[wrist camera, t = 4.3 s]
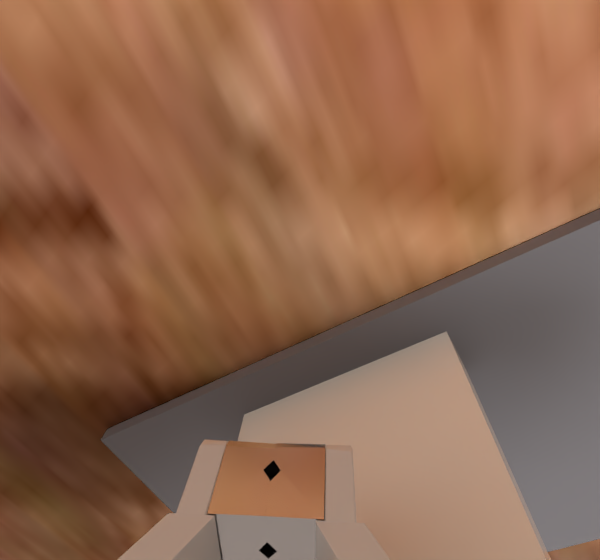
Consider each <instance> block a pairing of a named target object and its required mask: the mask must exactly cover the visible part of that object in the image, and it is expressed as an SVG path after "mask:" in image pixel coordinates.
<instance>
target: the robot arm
mask: <svg viewBox="0 0 600 560" xmlns="http://www.w3.org/2000/svg"><path fill="white" fill-rule="evenodd" d="M325 456H326V464H325ZM117 560H390V558H389V557H388V555H387V554H386V553H385V551H384V550H383V548H382V547H381V545H380V544H379V543H378V541H377V540H376V538H375V537H374V536H373V534H372V533H371V531H370V530H369V529H368V527H367V526H366V524H365V523H357V521H356V503H355V485H354V467H353V450H352V447H351V446H349V445H326V450H325V444H289V443H277V444H272V443H257V442H242V441H221V440H205V439H204V441H203V442H202V443H201V445H200V446H199V449H198V452H197V455H196V458H195V461H194V463H193V466H192V469H191V472H190V475H189V478H188V480H187V483H186V486H185V489H184V492H183V495H182V498H181V500H180V503H179V506H178V509H177V512H176V513H168V514H167V515H165V516H164V517H163V518H162V519H161V520H160V521H159V522H158V523H157V524H156V525H155V526H153V527H152V528H151V529H150V530H149V531H148V532H147V533H146V534H145V535H144V536H142V537H141V538H140V539H139V540H138V541H137V542H136V543H135V544H134V545H133V546H131V547H130V548H129V549H128V550H127V551H126V552H125V553H124V554H123V555H122V556H121V557H119V558H118V559H117Z"/></svg>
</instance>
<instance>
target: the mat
mask: <svg viewBox="0 0 600 560" xmlns="http://www.w3.org/2000/svg"><path fill="white" fill-rule="evenodd" d="M446 331H447V333H448V335H449V337H450V339H451V341H452V343H453V345H454V347H455V349H456V351H457V353H458V355H459V357H460V359H461V361H462V363H463V365H464V367H465V369H466V370H467V373H468V375H469V377H470V379H471V382H472V384H473V386H474V388H475V391H476V393H477V395H478V397H479V400H480V402H481V404H482V406H483V409H484V411H485V413H486V415H487V418H488V420H489V422H490V424H491V426H492V429H493V431H494V433H495V435H496V438H497V440H498V442H499V444H500V447H501V449H502V451H503V453H504V456H505V458H506V460H507V462H508V465H509V467H510V469H511V471H512V474H513V476H514V478H515V480H516V483H517V485H518V487H519V489H520V491H521V494H522V496H523V498H524V500H525V503H526V505H527V507H528V509H529V512H530V514H531V516H532V518H533V521H534V523H535V525H536V527H537V530H538V532H539V534H540V536H541V539H542V541H543V543H544V545H545V548H546V550H547V552H549V551H553V550H557V549H561V548H565V547H569V546H573V545H577V544H581V543H585V542H589V541H593V540H597V539H600V209H598V210H596V211H593V212H591V213H589V214H587V215H585V216H582V217H580V218H578V219H576V220H573V221H571V222H569V223H567V224H564V225H562V226H560V227H558V228H555V229H553V230H551V231H549V232H547V233H544V234H542V235H540V236H538V237H535V238H533V239H531V240H529V241H526V242H524V243H522V244H520V245H517V246H515V247H513V248H511V249H509V250H506V251H504V252H502V253H500V254H497V255H495V256H493V257H491V258H488V259H486V260H484V261H482V262H479V263H477V264H475V265H473V266H471V267H468V268H466V269H464V270H462V271H459V272H457V273H455V274H453V275H450V276H448V277H446V278H444V279H441V280H439V281H437V282H435V283H432V284H430V285H428V286H426V287H424V288H421V289H419V290H417V291H415V292H412V293H410V294H408V295H406V296H403V297H401V298H399V299H397V300H394V301H392V302H390V303H388V304H386V305H383V306H381V307H379V308H377V309H374V310H372V311H370V312H368V313H365V314H363V315H361V316H359V317H356V318H354V319H352V320H350V321H348V322H345V323H343V324H341V325H339V326H336V327H334V328H332V329H330V330H327V331H325V332H323V333H321V334H318V335H316V336H314V337H312V338H310V339H307V340H305V341H303V342H301V343H298V344H296V345H294V346H292V347H289V348H287V349H285V350H283V351H280V352H278V353H276V354H274V355H272V356H269V357H267V358H265V359H263V360H260V361H258V362H256V363H254V364H251V365H249V366H247V367H245V368H242V369H240V370H238V371H236V372H234V373H231V374H229V375H227V376H225V377H222V378H220V379H218V380H216V381H213V382H211V383H209V384H207V385H204V386H202V387H200V388H198V389H195V390H193V391H191V392H189V393H187V394H184V395H182V396H180V397H178V398H175V399H173V400H171V401H169V402H166V403H164V404H162V405H160V406H157V407H155V408H153V409H151V410H149V411H146V412H144V413H142V414H140V415H137V416H135V417H133V418H131V419H128V420H126V421H124V422H122V423H119V424H117V425H115V426H113V427H111V428H108V429H107V430H106V432H105V434H104V435H103V437H102V438H101V441H102V442H103V443H104V444H105V445H106V446H107V447H108V448H109V449H110V450H111V451H112V452H113V453H114V454H115V455H116V456H117V457H118V458H119V459H120V460H121V461H122V462H123V463H124V464H125V465H126V466H127V467H128V468H129V469H130V470H131V471H132V472H133V473H134V474H135V475H136V476H137V477H138V478H139V479H140V480H141V481H142V482H143V483H144V484H145V485H146V486H147V487H148V488H149V489H150V490H151V491H152V492H153V493H154V494H155V495H156V496H157V497H158V498H159V499H160V500H161V501H162V502H163V503H164V504H165V505H166V506H167V507H168V508H169V509H170V510H171V511H172V512H173V513H176V512H177V509H178V506H179V503H180V500H181V498H182V495H183V492H184V489H185V486H186V483H187V480H188V478H189V475H190V472H191V469H192V466H193V463H194V461H195V458H196V455H197V452H198V449H199V446H200V445H201V443H202V442H203V441H204V439H205V440H221V441H238V437H239V433H240V429H241V425H242V421H243V417H244V414H247V413H249V412H252V411H254V410H257V409H259V408H261V407H264V406H266V405H269V404H271V403H274V402H276V401H278V400H281V399H283V398H286V397H288V396H291V395H293V394H295V393H298V392H300V391H303V390H305V389H308V388H310V387H312V386H315V385H317V384H320V383H322V382H325V381H327V380H329V379H332V378H334V377H337V376H339V375H342V374H344V373H346V372H349V371H351V370H354V369H356V368H359V367H361V366H363V365H366V364H368V363H371V362H373V361H376V360H378V359H380V358H383V357H385V356H388V355H390V354H393V353H395V352H397V351H400V350H402V349H405V348H407V347H410V346H412V345H414V344H417V343H419V342H422V341H424V340H427V339H429V338H431V337H434V336H436V335H439V334H441V333H444V332H446Z"/></svg>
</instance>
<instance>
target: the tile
mask: <svg viewBox="0 0 600 560" xmlns="http://www.w3.org/2000/svg"><path fill="white" fill-rule="evenodd" d="M238 441H242V442H257V443H272V444H277V443H289V444H325V450H326V445H349V446H351V447H352V450H353V467H354V485H355V503H356V521H357V523H365V524H366V526H367V527H368V529H369V530H370V531H371V533H372V534H373V536H374V537H375V538H376V540H377V541H378V543H379V544H380V545H381V547H382V548H383V550H384V551H385V553H386V554H387V555H388V557H389V558H390V560H551V559H550V556H549V554H548V552H547V550H546V548H545V545H544V543H543V541H542V539H541V536H540V534H539V532H538V530H537V527H536V525H535V523H534V521H533V518H532V516H531V514H530V512H529V509H528V507H527V505H526V503H525V500H524V498H523V496H522V494H521V491H520V489H519V487H518V485H517V483H516V480H515V478H514V476H513V474H512V471H511V469H510V467H509V465H508V462H507V460H506V458H505V456H504V453H503V451H502V449H501V447H500V444H499V442H498V440H497V438H496V435H495V433H494V431H493V429H492V426H491V424H490V422H489V420H488V418H487V415H486V413H485V411H484V409H483V406H482V404H481V402H480V400H479V397H478V395H477V393H476V391H475V388H474V386H473V384H472V382H471V379H470V377H469V375H468V373H467V370H466V369H465V367H464V365H463V363H462V361H461V359H460V357H459V355H458V353H457V351H456V349H455V347H454V345H453V343H452V341H451V339H450V337H449V335H448V333H447V331H446V332H444V333H441V334H439V335H436V336H434V337H431V338H429V339H427V340H424V341H422V342H419V343H417V344H414V345H412V346H410V347H407V348H405V349H402V350H400V351H397V352H395V353H393V354H390V355H388V356H385V357H383V358H380V359H378V360H376V361H373V362H371V363H368V364H366V365H363V366H361V367H359V368H356V369H354V370H351V371H349V372H346V373H344V374H342V375H339V376H337V377H334V378H332V379H329V380H327V381H325V382H322V383H320V384H317V385H315V386H312V387H310V388H308V389H305V390H303V391H300V392H298V393H295V394H293V395H291V396H288V397H286V398H283V399H281V400H278V401H276V402H274V403H271V404H269V405H266V406H264V407H261V408H259V409H257V410H254V411H252V412H249V413H247V414H244V417H243V421H242V425H241V429H240V433H239V437H238ZM325 464H326V456H325Z"/></svg>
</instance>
